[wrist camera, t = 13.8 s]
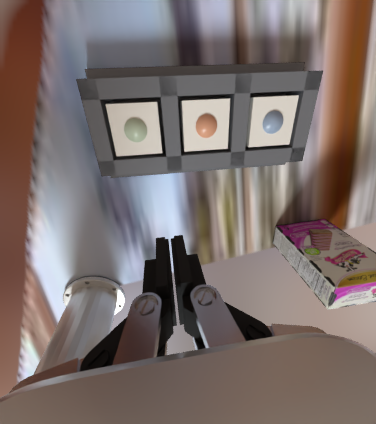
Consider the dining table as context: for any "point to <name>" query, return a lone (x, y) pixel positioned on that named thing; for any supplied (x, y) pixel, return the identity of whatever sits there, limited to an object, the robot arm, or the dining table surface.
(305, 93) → the grey button panel
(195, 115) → the key terracotta
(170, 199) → the dining table surface
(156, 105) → the key sage
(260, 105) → the key slate
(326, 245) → the candy bar box
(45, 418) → the robot arm
